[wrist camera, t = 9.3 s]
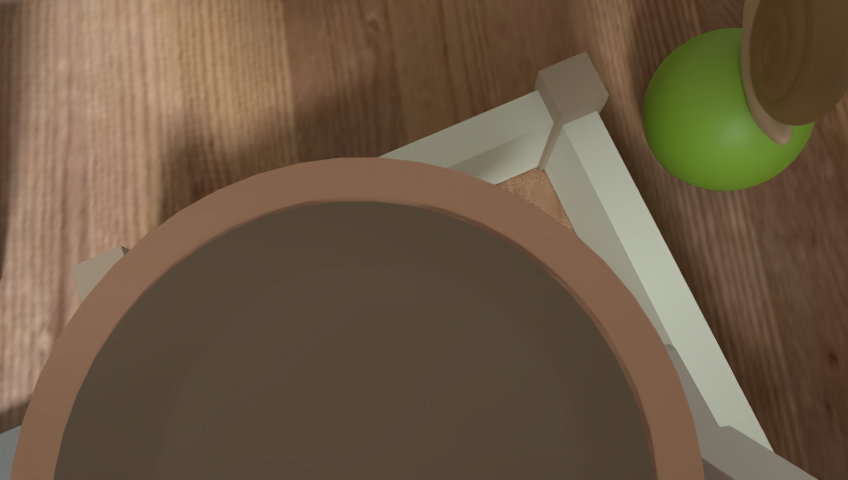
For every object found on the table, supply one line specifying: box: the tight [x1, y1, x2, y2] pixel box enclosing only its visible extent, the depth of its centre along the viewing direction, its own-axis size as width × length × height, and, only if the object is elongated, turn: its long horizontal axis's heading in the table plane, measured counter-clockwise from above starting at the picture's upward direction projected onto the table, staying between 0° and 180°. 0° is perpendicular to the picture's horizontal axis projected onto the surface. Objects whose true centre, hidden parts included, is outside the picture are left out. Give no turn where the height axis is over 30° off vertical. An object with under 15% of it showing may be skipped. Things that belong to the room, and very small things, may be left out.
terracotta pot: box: [10, 157, 704, 480], centre depth 11 cm, size 6×6×9 cm
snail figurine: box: [643, 0, 848, 191], centre depth 21 cm, size 5×6×12 cm
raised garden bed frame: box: [70, 51, 774, 452], centre depth 23 cm, size 17×17×6 cm
